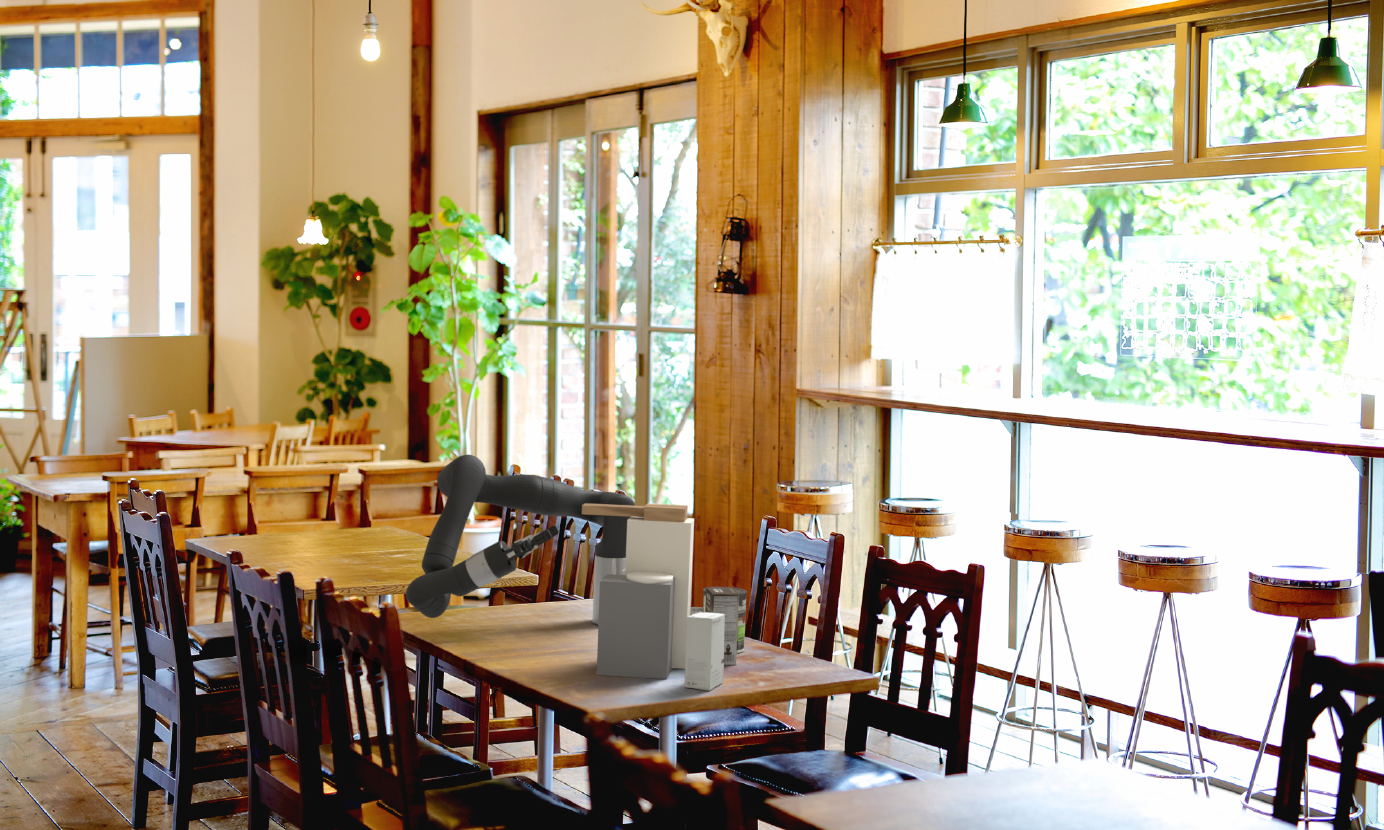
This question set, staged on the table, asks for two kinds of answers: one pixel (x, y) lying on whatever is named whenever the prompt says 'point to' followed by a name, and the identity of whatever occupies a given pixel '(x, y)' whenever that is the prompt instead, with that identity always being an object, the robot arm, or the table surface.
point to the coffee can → (741, 617)
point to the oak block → (640, 511)
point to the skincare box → (704, 650)
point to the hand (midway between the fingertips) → (553, 531)
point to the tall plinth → (665, 566)
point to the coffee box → (728, 604)
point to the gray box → (636, 625)
